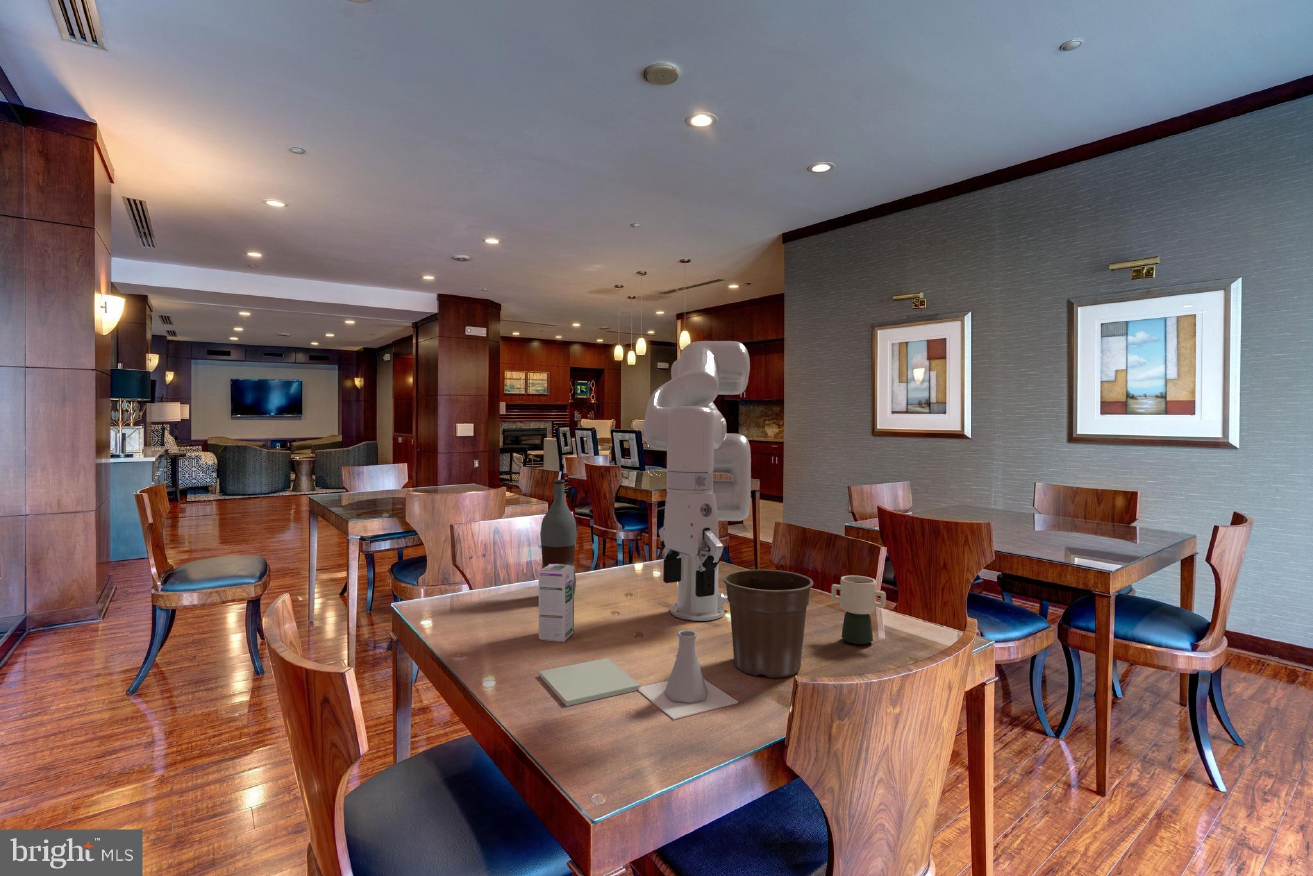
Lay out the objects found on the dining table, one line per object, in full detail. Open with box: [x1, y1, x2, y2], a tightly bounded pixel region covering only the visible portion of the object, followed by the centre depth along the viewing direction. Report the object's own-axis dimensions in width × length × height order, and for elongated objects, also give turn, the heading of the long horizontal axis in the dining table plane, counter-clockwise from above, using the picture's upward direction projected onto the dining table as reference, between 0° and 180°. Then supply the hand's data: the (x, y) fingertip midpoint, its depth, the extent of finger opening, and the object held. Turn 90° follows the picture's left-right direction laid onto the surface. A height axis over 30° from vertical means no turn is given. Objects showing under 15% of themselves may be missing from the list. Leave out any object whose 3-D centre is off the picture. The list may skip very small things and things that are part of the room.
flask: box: [664, 629, 708, 703], centre depth 98 cm, size 7×7×10 cm
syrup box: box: [538, 564, 575, 643], centre depth 125 cm, size 6×6×14 cm
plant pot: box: [723, 569, 814, 679], centre depth 111 cm, size 16×16×16 cm
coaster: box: [538, 658, 641, 707], centre depth 103 cm, size 13×13×1 cm
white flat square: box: [637, 679, 739, 721], centre depth 98 cm, size 12×12×1 cm
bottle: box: [539, 479, 578, 595], centre depth 152 cm, size 9×9×30 cm
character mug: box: [830, 575, 887, 645], centre depth 125 cm, size 11×7×13 cm, turn 58°
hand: (687, 588), depth 98 cm, fingers open, 9 cm apart
